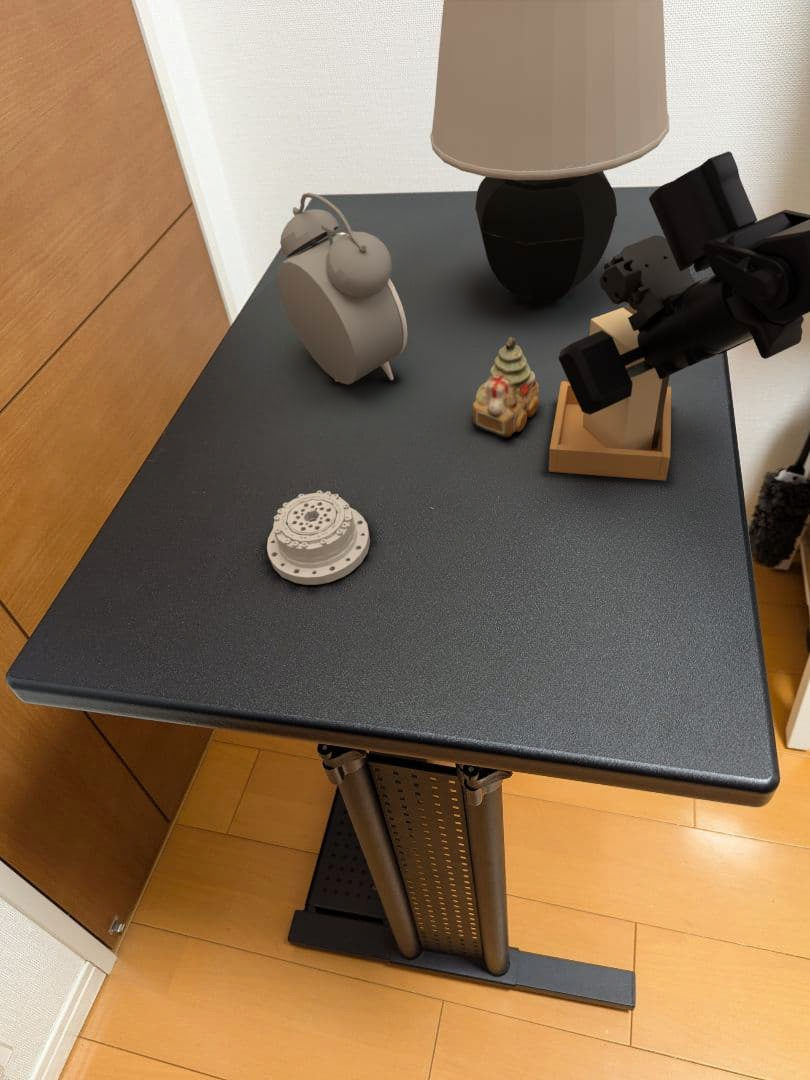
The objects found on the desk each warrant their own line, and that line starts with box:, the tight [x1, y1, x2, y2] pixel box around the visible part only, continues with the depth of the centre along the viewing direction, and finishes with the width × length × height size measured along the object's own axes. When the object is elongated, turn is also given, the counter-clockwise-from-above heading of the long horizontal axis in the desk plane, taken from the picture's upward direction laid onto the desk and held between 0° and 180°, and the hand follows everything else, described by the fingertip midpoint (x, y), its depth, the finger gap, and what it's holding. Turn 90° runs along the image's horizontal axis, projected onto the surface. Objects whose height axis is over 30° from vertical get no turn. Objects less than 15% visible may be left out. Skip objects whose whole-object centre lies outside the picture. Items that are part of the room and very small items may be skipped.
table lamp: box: [429, 0, 670, 304], centre depth 89 cm, size 27×27×40 cm
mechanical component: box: [266, 490, 371, 586], centre depth 74 cm, size 10×4×10 cm
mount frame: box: [548, 380, 672, 482], centre depth 81 cm, size 12×12×3 cm
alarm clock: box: [277, 192, 409, 385], centre depth 88 cm, size 16×9×22 cm, turn 37°
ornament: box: [471, 336, 540, 438], centre depth 83 cm, size 8×6×10 cm
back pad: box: [583, 304, 671, 451], centre depth 77 cm, size 4×7×13 cm, turn 25°
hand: (611, 369), depth 76 cm, fingers open, 9 cm apart
